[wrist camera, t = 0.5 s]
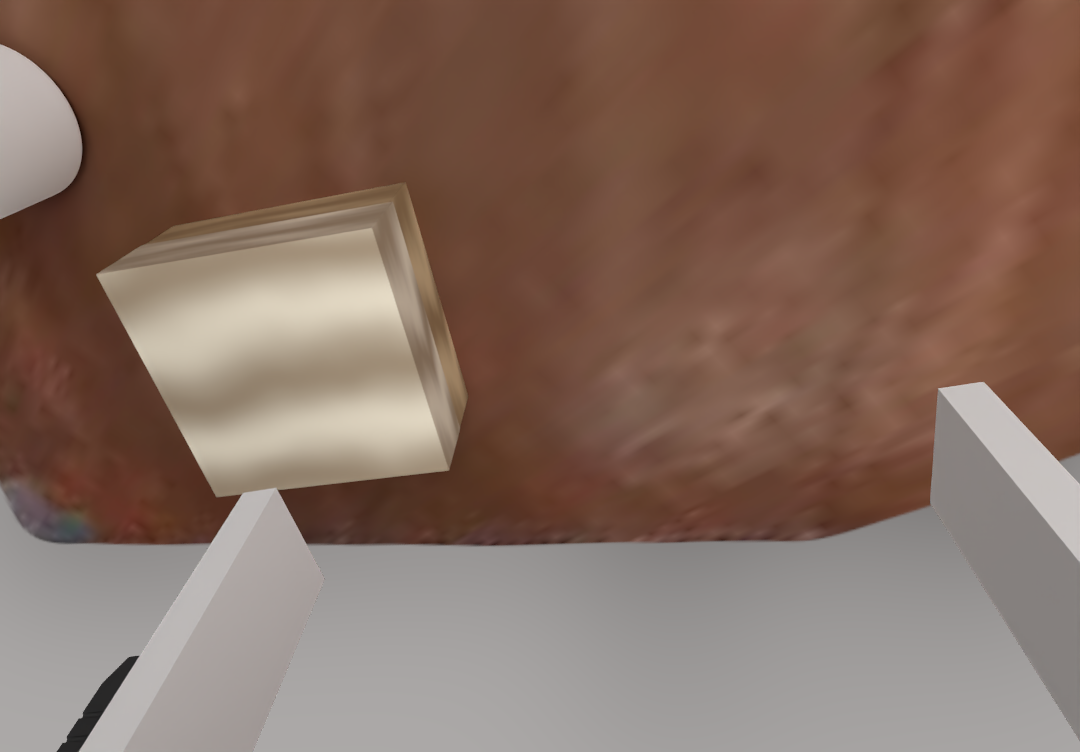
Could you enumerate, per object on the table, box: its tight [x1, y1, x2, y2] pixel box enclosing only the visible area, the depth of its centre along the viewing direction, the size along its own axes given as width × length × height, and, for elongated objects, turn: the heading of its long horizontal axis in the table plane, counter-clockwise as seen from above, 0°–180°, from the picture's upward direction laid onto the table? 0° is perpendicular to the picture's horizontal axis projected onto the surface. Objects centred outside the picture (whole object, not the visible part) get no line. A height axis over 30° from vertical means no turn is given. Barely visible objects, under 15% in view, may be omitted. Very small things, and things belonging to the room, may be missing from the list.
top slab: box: [96, 202, 460, 497], centre depth 38 cm, size 14×14×4 cm
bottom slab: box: [145, 182, 468, 426], centre depth 41 cm, size 14×14×4 cm
